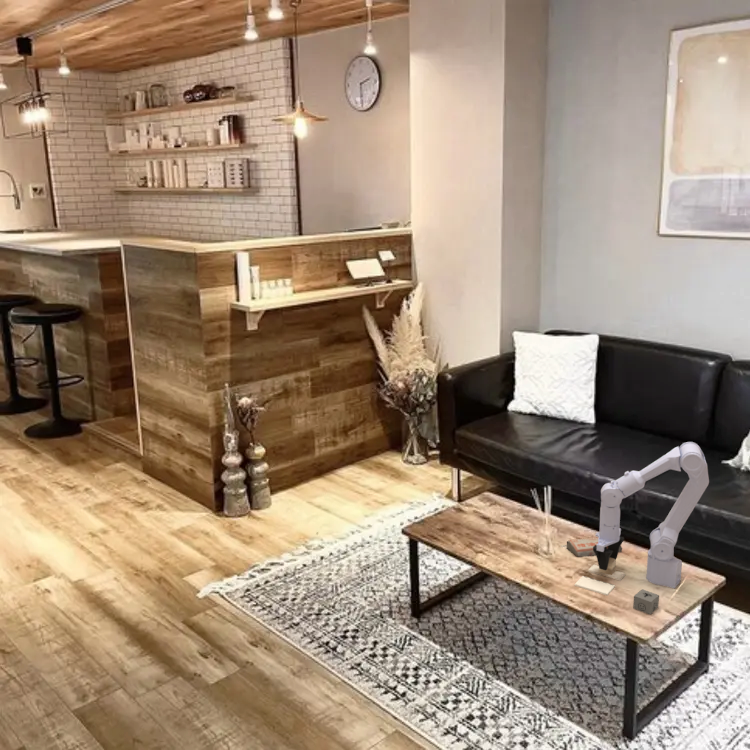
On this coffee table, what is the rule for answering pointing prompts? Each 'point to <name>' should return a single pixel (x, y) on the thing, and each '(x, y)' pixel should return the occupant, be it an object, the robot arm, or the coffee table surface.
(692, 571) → the coffee table surface
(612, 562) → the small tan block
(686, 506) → the robot arm
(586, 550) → the packaged product
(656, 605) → the dice cube
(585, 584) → the board
